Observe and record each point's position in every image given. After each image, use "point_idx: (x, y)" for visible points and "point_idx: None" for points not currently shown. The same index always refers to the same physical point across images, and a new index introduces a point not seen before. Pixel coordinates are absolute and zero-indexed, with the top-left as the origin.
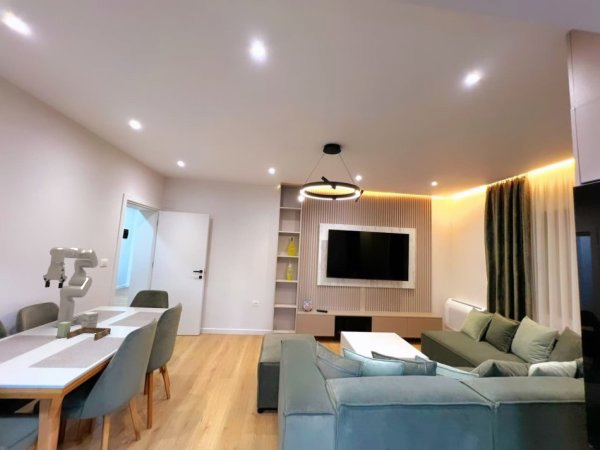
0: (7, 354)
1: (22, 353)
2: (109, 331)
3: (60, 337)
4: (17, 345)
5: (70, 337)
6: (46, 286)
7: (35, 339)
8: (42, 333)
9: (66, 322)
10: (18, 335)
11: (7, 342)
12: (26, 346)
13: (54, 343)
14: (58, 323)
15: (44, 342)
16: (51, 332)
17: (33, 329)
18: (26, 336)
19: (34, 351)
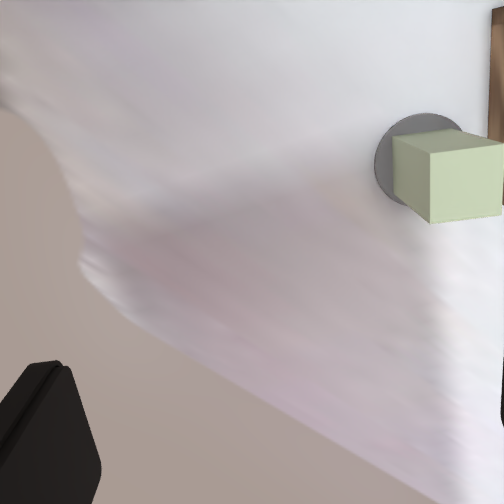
0: (392, 468)
1: (448, 444)
2: None
3: None
4: (307, 374)
5: None
6: (89, 481)
7: (298, 268)
8: (207, 147)
9: (474, 173)
10: (104, 237)
11: (200, 354)
12: (371, 372)
13: (483, 293)
14: (429, 223)
15: (407, 296)
16: (245, 103)
17: (27, 79)
18: (178, 237)
19: (482, 412)
